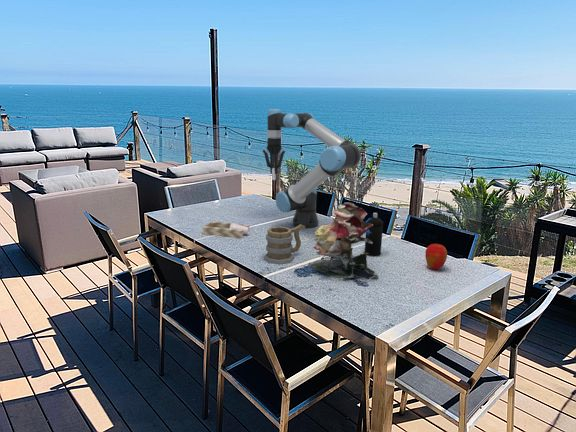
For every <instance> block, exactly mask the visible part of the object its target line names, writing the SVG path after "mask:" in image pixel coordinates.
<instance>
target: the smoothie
mask: <svg viewBox="0 0 576 432" xmlns="http://www.w3.org/2000/svg"><path fill="white" fill-rule="evenodd" d="M230 223H231V225H230V229H238V230H243V235H249V234H250V231H251V230H250V226H249V227H245V226H242V225H238V224H239V223H235V224H234V222H230Z"/></svg>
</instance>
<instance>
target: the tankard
mask: <svg viewBox="0 0 576 432" xmlns="http://www.w3.org/2000/svg"><path fill="white" fill-rule="evenodd" d="M300 230H306V228H305V226H303V225H301V224H300V225H299V226H297V227H296V226H294V227H293V228H289V227H286V226H273V227H270V228H269V229H267V234H266V236H265V240H266V241H267V244H266V245H265V250H266V251H267V253H265V255H264V260H266V262H268V263H269V264H270V263H271V264H276V265H282V264H283V265H284V264H290V263H291V262H292V261H293V260H294V259H295V255H294V254H295V253H296V252H299V250H300V248H301V246H302V241H301V238H300ZM293 239H294V240H295V246H293V244H292V241H293ZM292 253H294V254H292Z"/></svg>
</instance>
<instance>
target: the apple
mask: <svg viewBox="0 0 576 432" xmlns="http://www.w3.org/2000/svg"><path fill="white" fill-rule="evenodd" d="M424 254H425V261H426V264H427V267H428V268H429V269H430V270H434V271H435V270H439V269H441V268H443V267H444V265H445V263H446V261H447V258H448V250H447V249H446V246H444V245H442V244H439V243H431V244H430V245H428V246H427V247H426V249H425V253H424Z"/></svg>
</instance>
